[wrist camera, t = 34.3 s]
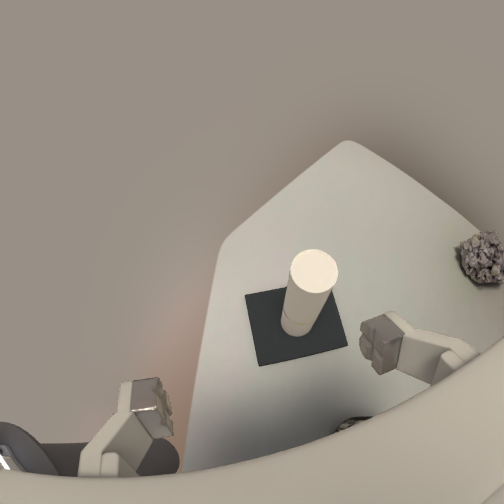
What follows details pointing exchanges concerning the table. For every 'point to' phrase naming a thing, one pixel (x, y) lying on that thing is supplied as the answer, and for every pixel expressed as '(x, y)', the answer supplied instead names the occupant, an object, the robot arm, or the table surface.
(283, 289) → the mat
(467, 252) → the mineral specimen
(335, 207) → the table surface
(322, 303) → the tube
